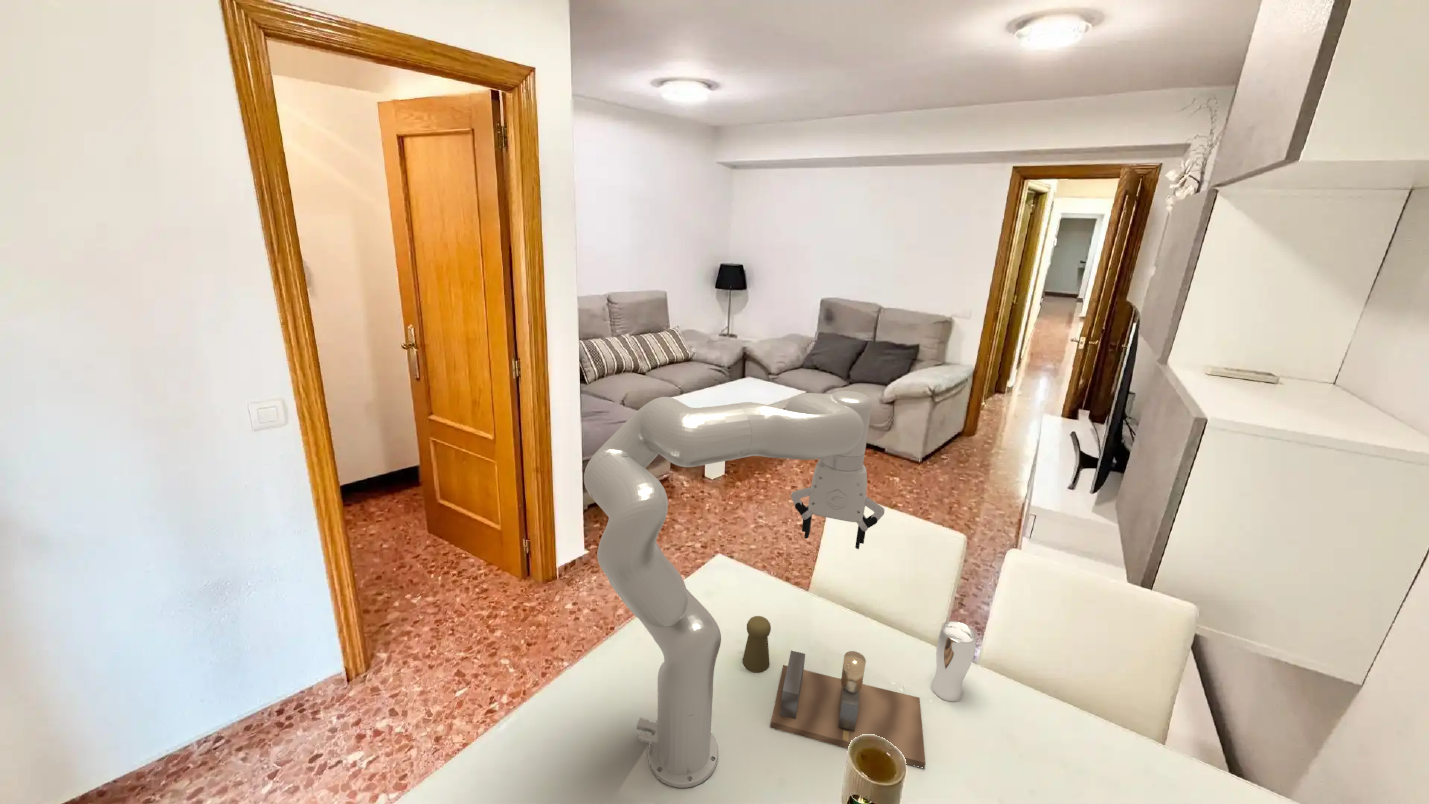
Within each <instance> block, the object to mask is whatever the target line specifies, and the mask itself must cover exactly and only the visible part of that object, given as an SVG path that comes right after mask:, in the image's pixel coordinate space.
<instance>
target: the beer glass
mask: <svg viewBox="0 0 1429 804" xmlns="http://www.w3.org/2000/svg"><path fill="white" fill-rule="evenodd" d="M977 639H978V638H977V633H976V631H975V630H974V629H973V628H971V627H970V626H969V625H967V624H966V623H964V622H962V621H961V622H960V621H957V620H948V621H945V622H943V623H942V624H941V628H940V632H939V635H938V638H937V643H936V652H935V654H936V656H935V657H936V659H935V660H936V662H935V663H936V669H935V670H936V671H935V675H934V678H933V679H932V681H931V684H930V686H931V689H932V692H933V693H934V694H935V695H936V696H937V697H938V698H940V699H942V700H944V701H946V702H951V703H952V702H953V703H954V702H958V701H960V700H961V699H962V698H963V694H964V693H963V684H964V680H965V678H966V677H967V674H968V672H969V670H970V667H971V665H972V663H973V661H974V657H975V656H974V655H975V651H976V643H977V642H976V641H977Z"/></svg>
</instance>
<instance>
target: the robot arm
mask: <svg viewBox="0 0 1429 804" xmlns="http://www.w3.org/2000/svg"><path fill="white" fill-rule="evenodd" d="M871 412H872V401H871V399H870V397H869V396H868V395H866V394H865V393H863V392H859V391H852V390H838V391H834V392H833V393H815V392H806V393H805V392H804V393H801V394H798V395H795V396H794V397H792V398H791V399H790V400H789V401H788V402H787V404H785V407H784V409H783V408H780V407H776V406H771V405H769V404H764V403H759V402H753V401H746V402H738V403H731V404H724V405H723V404H722V405H715V406H714V405H713V406H704V407H691V406H689V405H686V404H685V403H683V402H681V401H680V400H678V399H676V398H674V397H670V396H660V397H657V398H653V399H652V400H650V401H649V402H647V403H646V404H644V405H643V406H641V407H640V408H639V409H638V410H637V411H635V413H633V415H632V416H630V418H628V419H627V420H625V422H624V423H623V424H622V425H621V426H620V427H619V428H618V429H617V430H616V431H615V432H614V433H613V435H612V436H610V437H609V438H608V440H607V441H605V442H604V444H602V445H601V446H600V447H599V448H598V450H597V451H596V452H595V453H594V454H593V455H592V457H591V459H589V460H588V463H587V465H586V467H585V470H584V473H583V483H584V488H585V490H586V491H587V493H588V495H589V496H590V498H591V499H592V500H593V501H594V502H595V503H596V504H597V505H598V506H599V508H600V509H601V510H602V511H603V513H604V514H606V516H607V517H608V521H607V524H606V527H604V531H603V533H602V535H601V538H600V541H599V543H598V547H597V552H596V553H597V554H596V557H597V562H598V565H599V567H600V569H601V570H602V572H603V573H604V575H605V576H606V578H607V580H608V582H609V584H610V586H611V587H612V589H613V590H614V591H615V593H616V594H617V596H618V597H619V598H620V599H621V601H622V602H623V603H624V605H625V606H626V607H627V608H628V610H629V611H630V612H631V613H632V614H633V615H634V616H635V617H636V618H637V619H638V620H639V621H640V622H641V624H642V625H643V626H644V628H646V630H647V632H648V633H649V635H651V637H652V639H653V640H654V642H655V643H656V645H658V648H659V649H660V650H661V652H662V655H663V660H664V661H663V662H662V663H661V664H660V666H659V669H658V673H657V720H655V721H651V720H649V719H647V718H643V717H639V718H638V720H637V722H636V723H637V724H636V729H637V730H639V731H642V732H639V734H638V737H637V741H638V742H641V743H643V744H644V743H646V744H649V746H648V751H647V752H648V753H647V754H648V755H647V756H648V763H649V768H650V769H651V771H652V773H653V774H654V776H655V777H656V778H657V779H658V780H660V781H661V782H662V783H664V784H665V785H668V786H670V787H672V788H673V787H674V788H679V789H681V788H682V789H683V788H690V787H691V788H692V787H695V786H697V785H699V784H702V783H704V782H705V781H706V780H707V779H708V778H710V777H711V775H712V774H713V773H714V771H715V770H716V768H717V767H716V766H717V764H718V760H719V745H718V742H717V739H716V737H715V735H713V732H712V719H713V718H712V715H713V713H712V712H713V698H714V697H713V692H714V676H715V675H714V674H715V673H714V672H715V666H716V662H717V657H718V654H719V651H720V649H721V643H722V634H721V630H720V627H719V625H718V623H717V621H716V620H715V618H714V617H713V615H712V614H711V613H710V612H709V611H708V610H707V608H706V607H705V606H704V605H703V604H702V603H701V602H700V601H699V600H698V599H697V597H695V596H694V595H693V594H692V593H691V592H690V591H689V590H688V588H687V586H686V584H685V581H684V578H683V577H682V575H681V574H680V572H679V571H678V570H677V568H676V567H675V566H674V565H673V563H672V562H671V561H670V559H668V558H667V557H666V555H665V554H664V552H663V551H662V549H661V547H660V545H659V544H658V543H657V539H658V536H659V534H660V532H661V531H662V528H663V526H664V524H665V521H666V518H667V515H668V509H669V501H668V495H667V493H666V488H664V486H663V485H662V483H661V481H660V480H659V479H658V478H657V477H656V476H654V475H653V474H652V473H651V472H650V471H649V470H648V469H646V468H647V467H649V466H650V464H651V463H652V462H653V461H654V460H655V458H657V456H658V455H660V456H661V457H663V458H664V459H665V460H667V461H668V462H670V463H671V464H673V465H675V466H677V467H682V468H683V467H684V468H693V467H694V468H695V467H701V466H704V465H711V464H712V465H713V464H716V463H722V462H727V461H733V460H737V459H738V460H739V459H742V458H748V457H755V456H757V457H764V458H765V457H766V458H773V459H774V458H775V459H787V460H800V461H801V460H803V461H805V460H807V461H809V460H811V461H812V460H818V461H817V462H816V464H815V468H814V472H813V475H812V479H811V485H810V486H809V487H806V488H802V489H797V490H795V491H792V492H791V494H790V498H791V500H792V503H793V505H794V508H795V510H796V511H797V512H798V513H799V514H800V515H801V519H802V526H801V532H802V533H804V537H803V538H804V539H806V540H807V539H809V537H810V533H811V527H812V520H813V519H812V517H813V515H815V516H818V517H822V518H829V519H833V520H838V521H844V522H849V523H856V524H857V526H858V527H857V532H856V540H855V546H854V547H855V549H856V550H860V546H861V545H860V544H864V543H865V539H866V532H867V531H868V529H869V528H871V527H873V526H875V525H876V524H877V523H878V522H879V520H880V519H882V517H883V516H884V515H885V508H884V507H883V506H881V505H880V504H878V503H877V502H875V501H874V500H872V499H871V498H869V497H868V496H867V488H868V474H867V467H866V466H865V465H864V461H865V455H866V448H867V440H868V433H869V426H870V419H871ZM806 497H808V505H807V506H806V505H805V504H804V502H803V501H802V499H803V498H806ZM866 507H867V508H868V509H869V510H871V511H872V512H873V514H871V515H870V516H867V517H866V515H865V509H866ZM644 732H645V733H644ZM646 732H648V733H651V734H652V735H649V734H647V733H646Z"/></svg>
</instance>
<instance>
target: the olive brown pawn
mask: <svg viewBox="0 0 1429 804" xmlns="http://www.w3.org/2000/svg"><path fill="white" fill-rule="evenodd" d="M746 631H747V634H748V635H747V637H746V638H747V639H746V644H745V646H744V652H743V656H742V660H741V661H742V665H743V667H744V669H745V670H747V671H748V672H751V673H756V674H760V673H764V672H766V671H768V669H769V668H770V666H771V665H770V663H771V662H770V650H769V638H768V637H769V636H770V634H771V631H772V627H771V623H770V621H769V620H768V619H767V618H766V617H764V616H761V615H756V616H755V615H754V616H752V617H750V618H749V619H748V621H747V624H746Z"/></svg>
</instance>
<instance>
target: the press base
mask: <svg viewBox="0 0 1429 804" xmlns="http://www.w3.org/2000/svg"><path fill="white" fill-rule="evenodd" d="M805 658H806V653H804V652H800V651H796V650H790V654H789V658H788V662H787V665H785V664H782V669H781V673H780V677H779V678H780V679H779V681H778V687H777V691H776V697H775V701H774V705H773V709H772V713H771V714H772V715H771V719H770V727H769V728H770V729H774V730H778V731H782V732H785V733H789V734H793V735H796V736H799V737H802V738H807V739H811V740H815V741H818V742H823V743H827V744H829V745H833V746H836V747H840V748H844V749H847V748H848V746H849V744H850V742H851V740H853V739H854V738H855V737H858V736H860V735H862V734H875V735H877V736H880V737H883V738H885V739H886V740H888V741H889V742H891V743H892V744H893V745H894V746H896V747H897V748H898V749H899V750H900V751H901V752H902V754H903V755H904V757H905V759H906V763H907V764H906V765H908V766H910V765H915V766H919V767H923V768H924V769H925V768H926V755H925V745H924V743H925V742H924V733H923V731H924V730H923V721H922V710H921V700H920V699H921V698H920V697H919V696H914V695H910V694H906V693H901V692H897V691H893V690H889V689H885V688H880V687H877V686H873V685H868V684H864V683H862V688H861V690H860V691H859V706H858V713H857V719H856V726H855V731H852V730H848V729H844V728H840V727H839V714H840V701H841V689H842V685H841V677H840V678H839V677H834V676H831V675H826V674H823V673H818V672H815V671H810V670H807V669H805Z"/></svg>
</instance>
